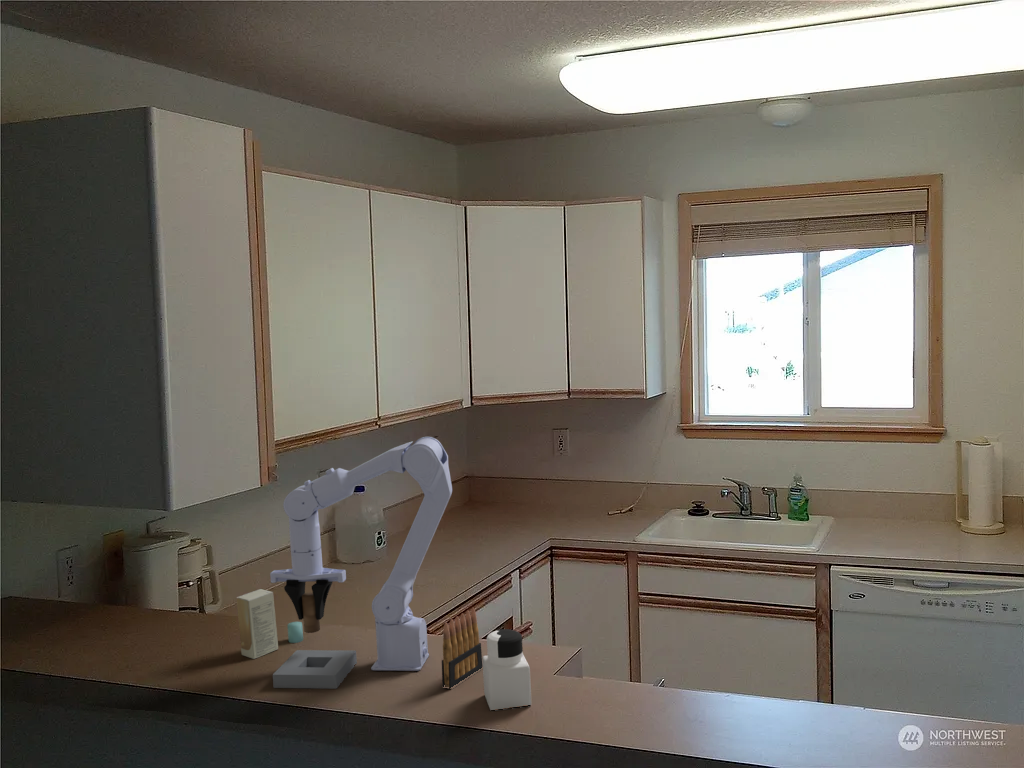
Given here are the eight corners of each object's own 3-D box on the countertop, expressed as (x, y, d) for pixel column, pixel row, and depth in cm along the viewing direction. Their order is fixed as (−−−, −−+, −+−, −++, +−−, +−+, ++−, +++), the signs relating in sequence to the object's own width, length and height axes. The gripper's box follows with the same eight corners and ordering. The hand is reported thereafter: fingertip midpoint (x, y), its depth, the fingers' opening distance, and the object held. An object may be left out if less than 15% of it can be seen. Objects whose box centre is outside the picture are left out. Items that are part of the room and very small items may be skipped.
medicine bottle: (524, 689, 168) (520, 623, 167) (532, 706, 161) (528, 637, 160) (484, 694, 167) (480, 628, 166) (490, 711, 160) (486, 642, 159)
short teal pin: (305, 637, 200) (304, 621, 200) (300, 643, 197) (299, 626, 197) (291, 637, 200) (290, 621, 200) (286, 642, 197) (285, 626, 197)
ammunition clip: (474, 667, 180) (471, 605, 178) (483, 668, 179) (479, 606, 177) (442, 688, 170) (438, 623, 169) (450, 690, 169) (447, 624, 168)
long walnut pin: (322, 627, 185) (319, 592, 185) (317, 632, 182) (314, 597, 182) (307, 627, 186) (304, 592, 185) (302, 632, 183) (299, 597, 182)
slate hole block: (356, 663, 184) (355, 650, 184) (336, 688, 173) (335, 675, 172) (297, 662, 186) (296, 650, 186) (273, 687, 174) (272, 674, 174)
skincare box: (266, 645, 196) (261, 587, 195) (279, 649, 194) (274, 591, 193) (239, 655, 192) (235, 596, 190) (252, 660, 189) (248, 599, 188)
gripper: (349, 543, 185) (353, 611, 186) (278, 543, 187) (283, 610, 189) (336, 552, 178) (341, 623, 179) (263, 553, 181) (269, 623, 182)
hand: (311, 618), depth 184 cm, fingers closed on long walnut pin, 3 cm apart
